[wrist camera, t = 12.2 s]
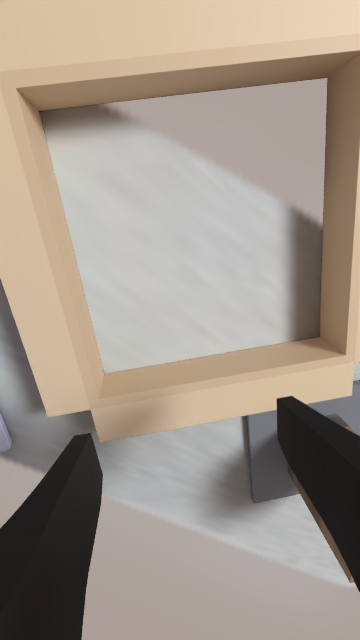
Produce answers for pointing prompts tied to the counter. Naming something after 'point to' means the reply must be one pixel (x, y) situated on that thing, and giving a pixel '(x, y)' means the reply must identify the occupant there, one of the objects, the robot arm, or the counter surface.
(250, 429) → the slate mat
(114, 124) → the counter surface
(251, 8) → the wooden square frame
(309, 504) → the walnut block
